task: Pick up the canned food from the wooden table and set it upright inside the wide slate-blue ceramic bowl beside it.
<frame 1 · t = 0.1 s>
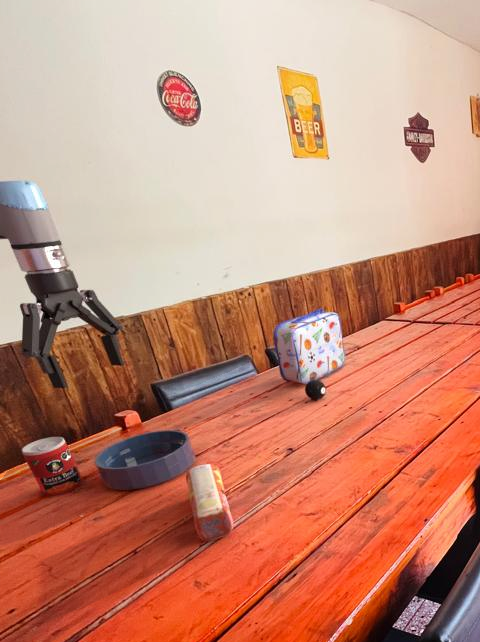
hand: (91, 375, 107), 26 cm above the table, tool pointing down, fingers open, 13 cm apart
bowl: (151, 470, 122), on the table
snack package: (214, 514, 104), on the table
billiard ball: (317, 399, 158), on the table
canned food: (63, 487, 117), on the table
lunch box: (318, 375, 179), on the table
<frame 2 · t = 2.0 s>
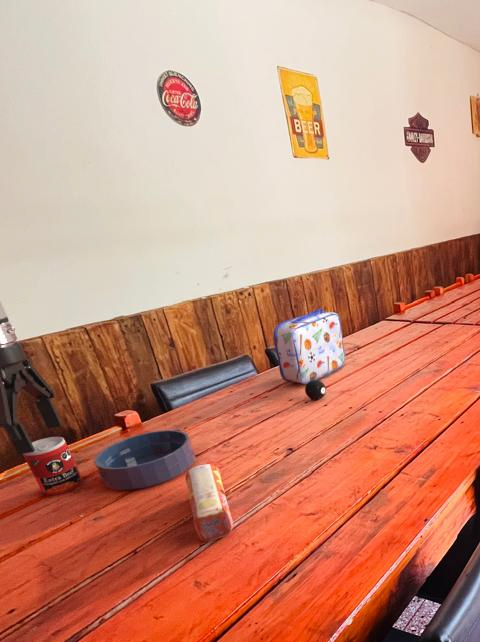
hand: (41, 439, 112), 12 cm above the table, tool pointing down, fingers open, 13 cm apart
nothing on the table moved.
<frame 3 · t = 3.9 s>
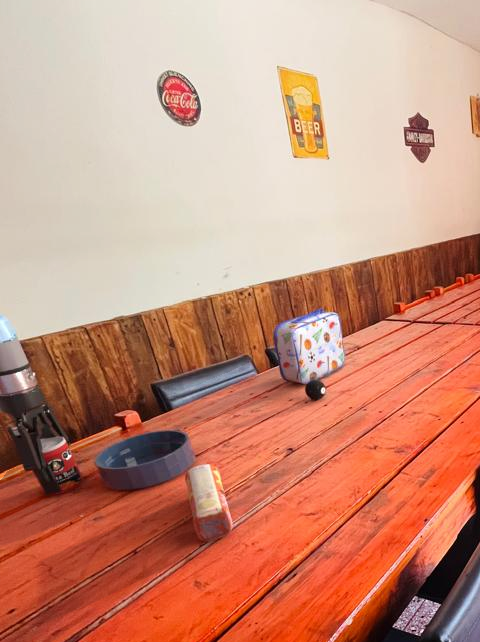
hand: (62, 482, 117), 1 cm above the table, tool pointing down, fingers closed on canned food, 8 cm apart
canned food: (64, 486, 118), on the table, touching gripper
everything else where it was.
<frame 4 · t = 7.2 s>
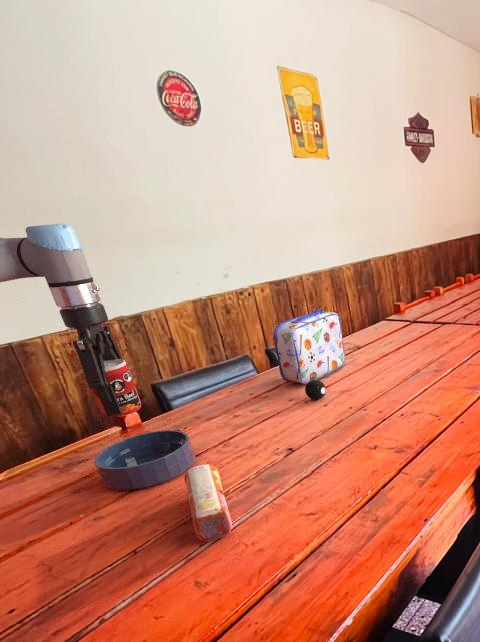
hand: (121, 407, 114), 17 cm above the table, tool pointing down, fingers closed on canned food, 8 cm apart
canned food: (123, 411, 115), point 16 cm above the table, touching gripper
everything else where it was.
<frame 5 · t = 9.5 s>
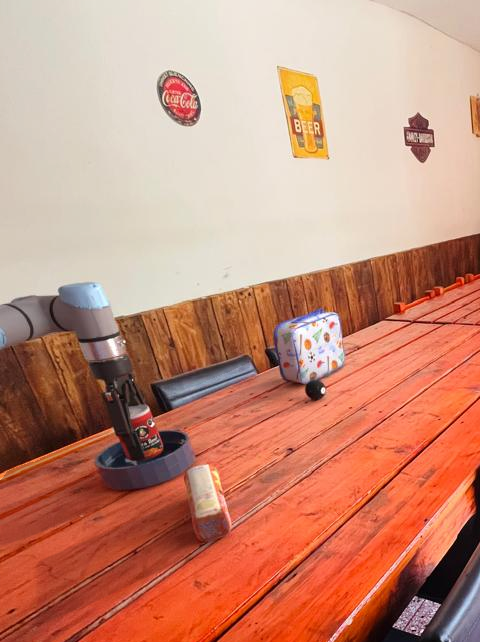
hand: (144, 450, 120), 5 cm above the table, tool pointing down, fingers closed on canned food, 8 cm apart
canned food: (146, 454, 120), point 4 cm above the table, touching gripper
everything else where it was.
when the fingers open (2 cm above the table, at t = 11.0 s): canned food stays where it is, resting on bowl.
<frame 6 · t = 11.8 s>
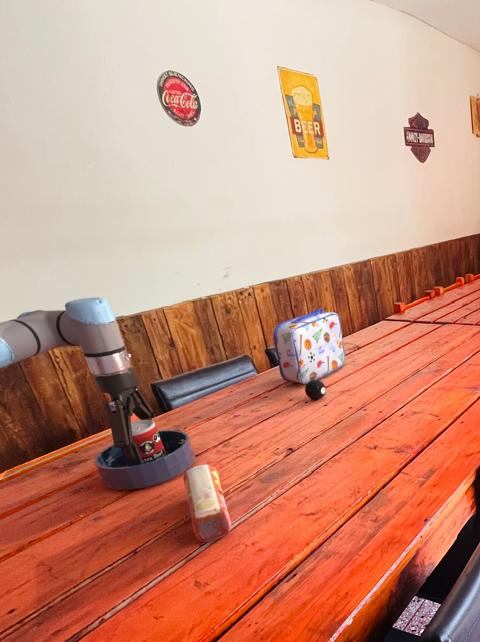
hand: (146, 456, 121), 4 cm above the table, tool pointing down, fingers open, 13 cm apart
canned food: (151, 468, 122), resting on bowl
everything else where it was.
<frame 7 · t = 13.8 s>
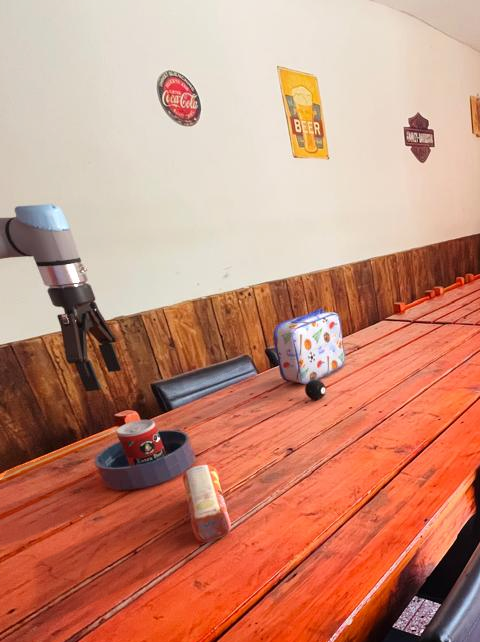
hand: (105, 380, 117), 22 cm above the table, tool pointing down, fingers open, 13 cm apart
nothing on the table moved.
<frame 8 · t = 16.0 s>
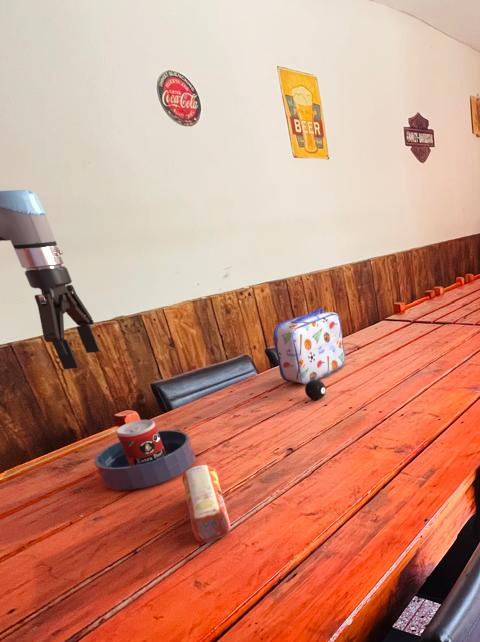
hand: (83, 359, 122), 25 cm above the table, tool pointing down, fingers open, 13 cm apart
nothing on the table moved.
at the end: canned food inside the target area in the bowl (0.1 cm from its centre), point 0.4 cm above the bowl's base; canned food tilted 0°; the gripper is holding nothing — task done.
